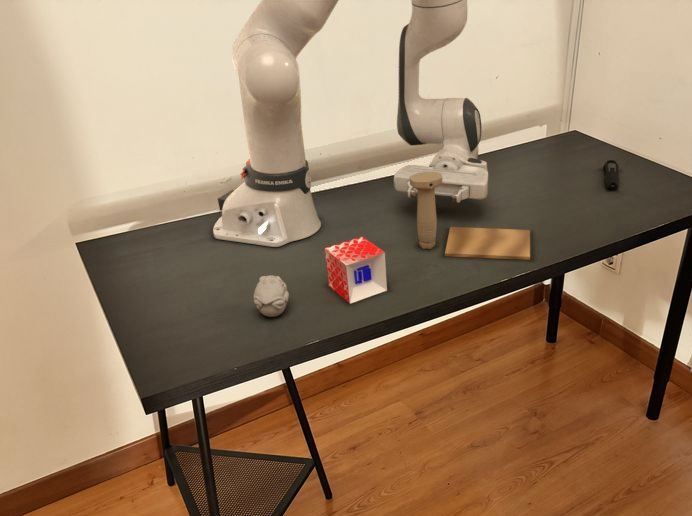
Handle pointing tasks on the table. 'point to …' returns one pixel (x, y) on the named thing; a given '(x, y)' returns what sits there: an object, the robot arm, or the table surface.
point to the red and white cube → (356, 269)
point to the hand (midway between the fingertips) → (433, 196)
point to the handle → (426, 206)
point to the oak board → (488, 243)
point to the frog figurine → (271, 295)
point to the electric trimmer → (611, 174)
